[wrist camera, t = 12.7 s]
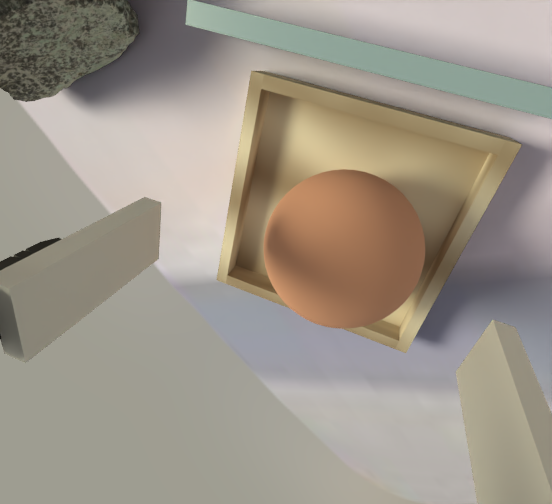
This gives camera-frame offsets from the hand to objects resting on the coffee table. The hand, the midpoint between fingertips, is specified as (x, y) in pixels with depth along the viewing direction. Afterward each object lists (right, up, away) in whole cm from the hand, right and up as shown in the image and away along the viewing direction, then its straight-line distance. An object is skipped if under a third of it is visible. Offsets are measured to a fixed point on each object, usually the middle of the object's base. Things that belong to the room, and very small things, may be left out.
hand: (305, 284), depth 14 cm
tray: (+3, +4, +8) cm, 10 cm away
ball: (+3, +3, +8) cm, 9 cm away
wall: (+4, +11, +4) cm, 13 cm away
